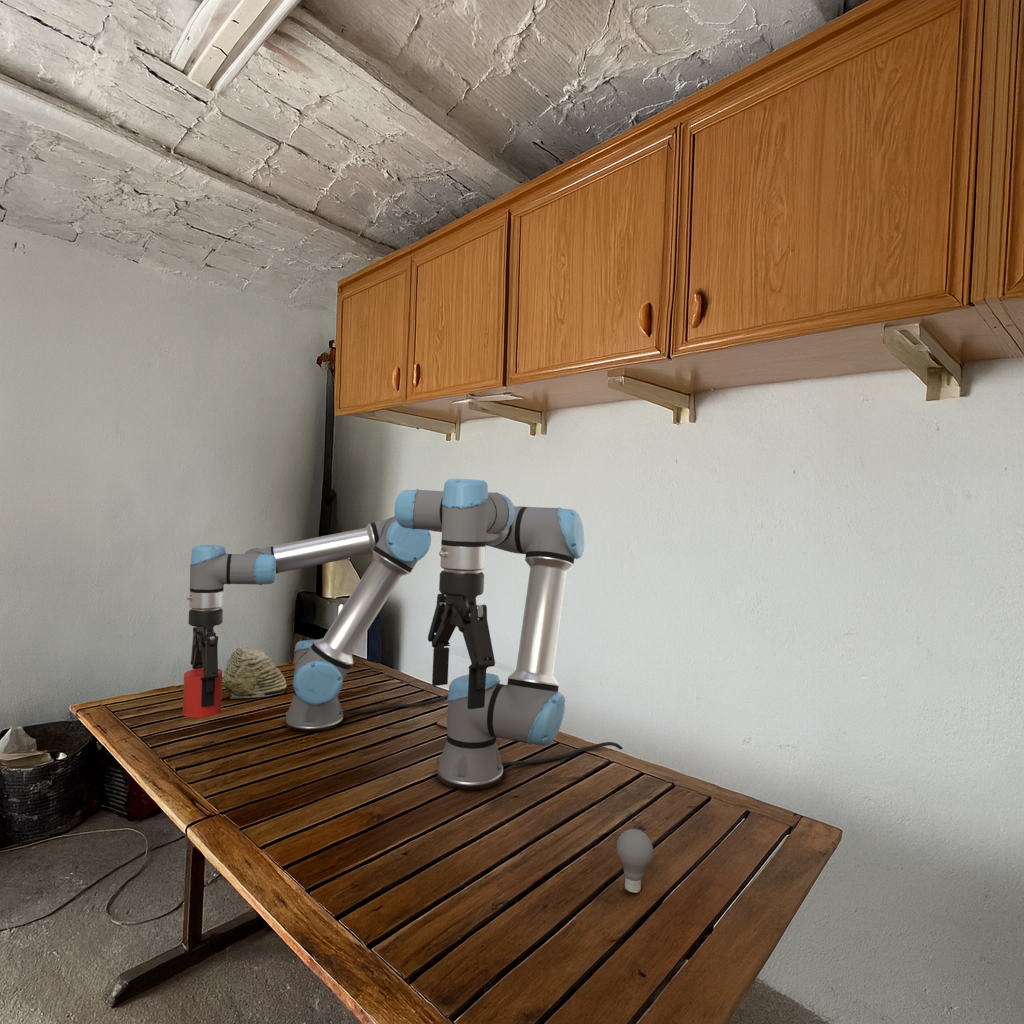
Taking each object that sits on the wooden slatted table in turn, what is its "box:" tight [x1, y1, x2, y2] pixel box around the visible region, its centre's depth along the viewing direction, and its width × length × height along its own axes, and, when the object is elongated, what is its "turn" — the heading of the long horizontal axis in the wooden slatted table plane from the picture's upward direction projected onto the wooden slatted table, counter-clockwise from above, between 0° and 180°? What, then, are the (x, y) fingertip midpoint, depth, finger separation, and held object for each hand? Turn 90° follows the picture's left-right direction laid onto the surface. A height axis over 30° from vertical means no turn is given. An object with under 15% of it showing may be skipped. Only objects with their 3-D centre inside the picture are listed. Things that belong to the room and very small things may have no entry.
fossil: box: [222, 646, 288, 699], centre depth 198 cm, size 9×18×15 cm, turn 132°
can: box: [182, 668, 223, 719], centre depth 155 cm, size 8×8×10 cm
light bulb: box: [615, 828, 654, 894], centre depth 106 cm, size 6×6×10 cm
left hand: (202, 700), depth 155 cm, fingers closed on can, 8 cm apart
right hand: (456, 695), depth 107 cm, fingers open, 13 cm apart
